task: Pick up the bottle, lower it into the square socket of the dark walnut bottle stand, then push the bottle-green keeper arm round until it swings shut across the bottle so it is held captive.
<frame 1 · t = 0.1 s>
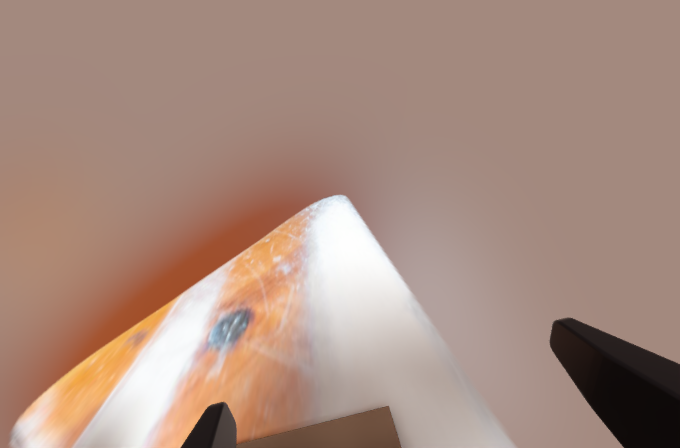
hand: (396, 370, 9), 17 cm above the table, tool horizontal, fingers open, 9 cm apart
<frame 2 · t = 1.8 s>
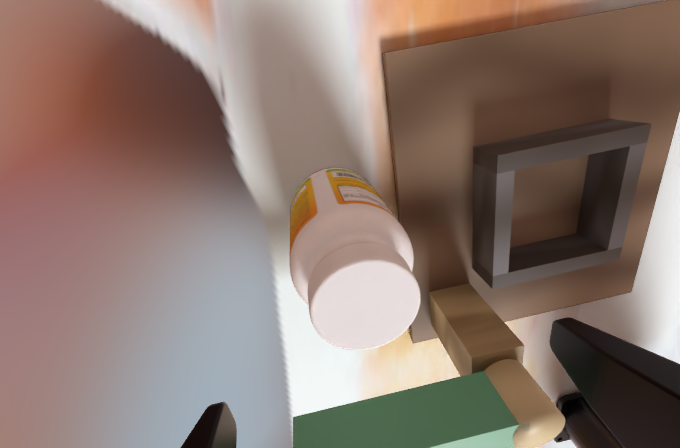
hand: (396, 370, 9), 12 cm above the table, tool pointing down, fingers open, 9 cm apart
supplement bottle: (333, 207, 20), on the table
bottle stand: (529, 196, 21), on the table
keeper arm: (422, 425, 16), point 8 cm above the table, hinge at 90.0°
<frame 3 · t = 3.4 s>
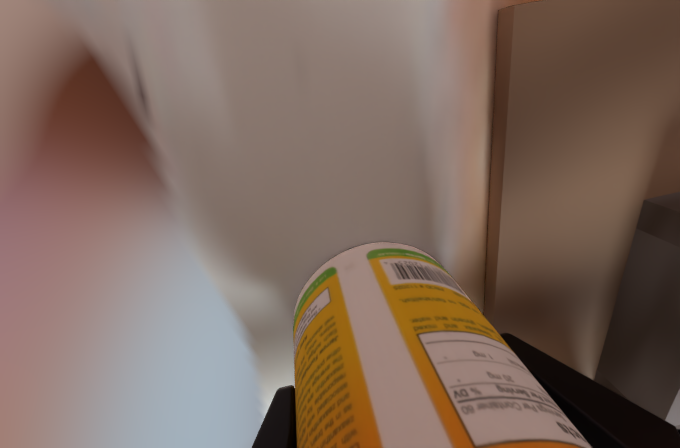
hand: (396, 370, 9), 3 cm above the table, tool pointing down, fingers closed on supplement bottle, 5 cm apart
supplement bottle: (371, 304, 11), on the table, touching gripper
when the fingers open (5 cm above the table, at t = 7.8 s): supplement bottle drops 1 cm, resting on bottle stand.
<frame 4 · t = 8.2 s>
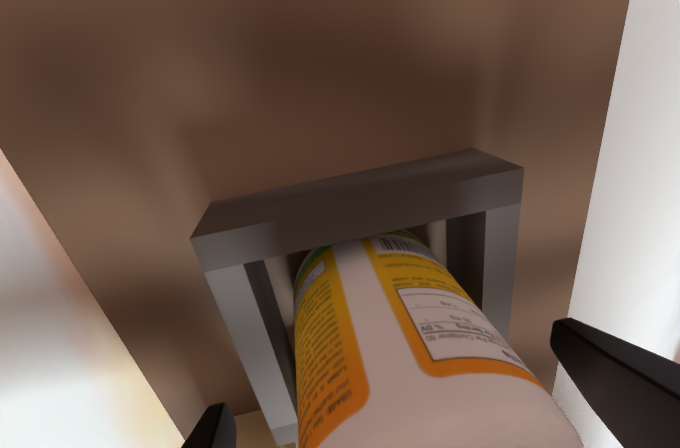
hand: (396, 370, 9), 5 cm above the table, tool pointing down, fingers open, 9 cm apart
supplement bottle: (363, 280, 12), resting on bottle stand
bottle stand: (360, 273, 13), on the table
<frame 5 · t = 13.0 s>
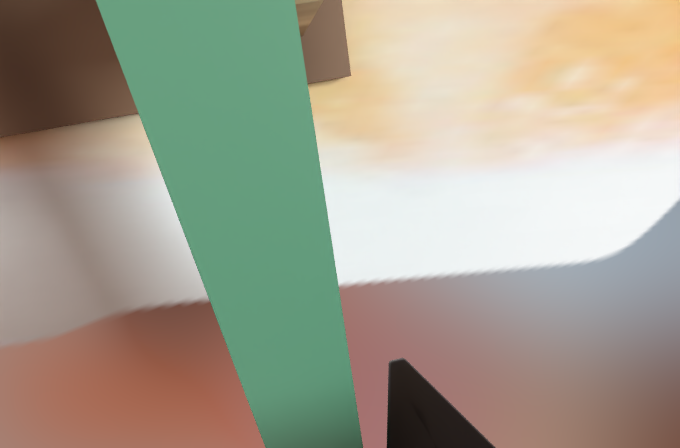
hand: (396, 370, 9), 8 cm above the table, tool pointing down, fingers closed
keeper arm: (278, 243, 5), point 8 cm above the table, hinge at 88.2°, touching gripper
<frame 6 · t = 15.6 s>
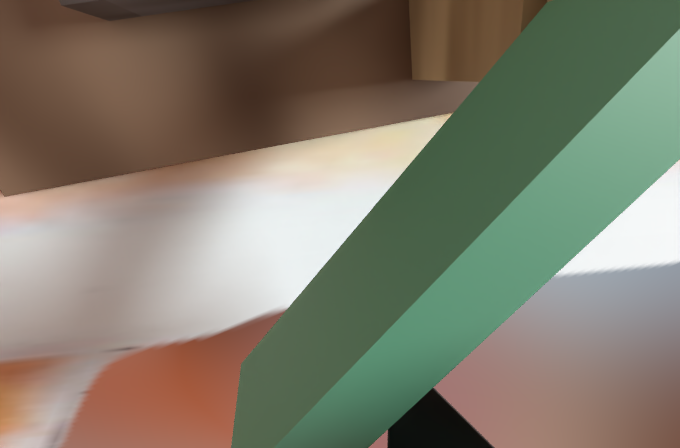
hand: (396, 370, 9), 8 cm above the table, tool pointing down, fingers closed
keeper arm: (461, 218, 6), point 8 cm above the table, hinge at 42.2°, touching gripper
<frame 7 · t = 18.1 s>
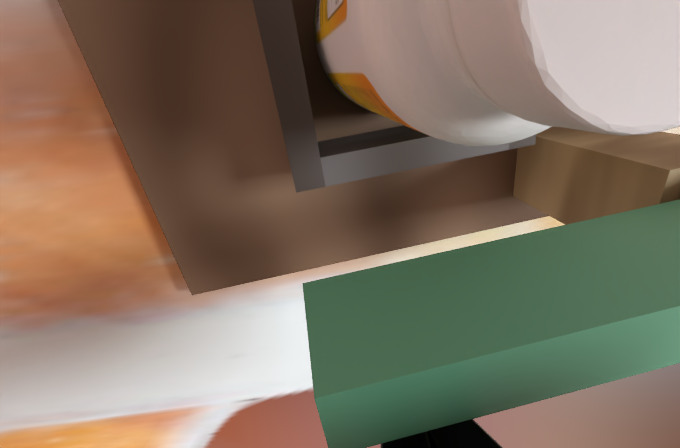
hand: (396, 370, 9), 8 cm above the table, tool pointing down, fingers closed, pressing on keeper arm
supplement bottle: (386, 31, 12), resting on bottle stand
bottle stand: (382, 34, 12), on the table
keeper arm: (597, 288, 7), point 8 cm above the table, hinge at -0.2°, touching gripper
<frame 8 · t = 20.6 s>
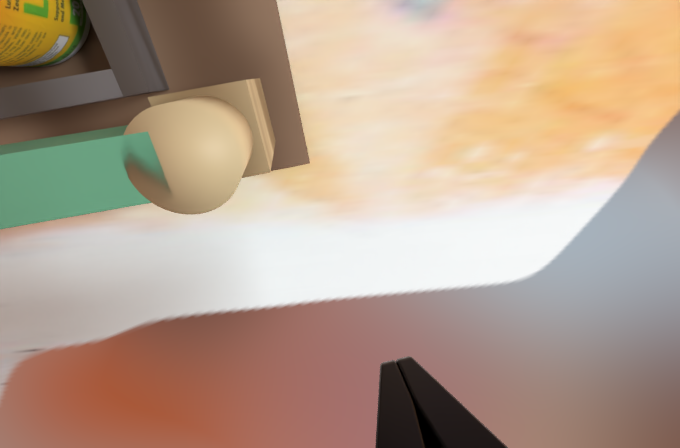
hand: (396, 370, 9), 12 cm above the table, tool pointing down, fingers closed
keeper arm: (2, 182, 8), point 8 cm above the table, hinge at -1.4°
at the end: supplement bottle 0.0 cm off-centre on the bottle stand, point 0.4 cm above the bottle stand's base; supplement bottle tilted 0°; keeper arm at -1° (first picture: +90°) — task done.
